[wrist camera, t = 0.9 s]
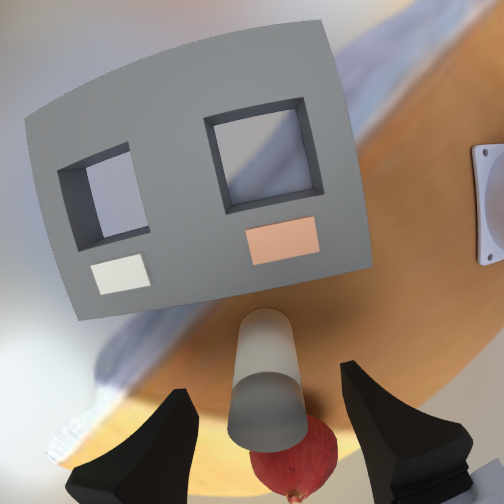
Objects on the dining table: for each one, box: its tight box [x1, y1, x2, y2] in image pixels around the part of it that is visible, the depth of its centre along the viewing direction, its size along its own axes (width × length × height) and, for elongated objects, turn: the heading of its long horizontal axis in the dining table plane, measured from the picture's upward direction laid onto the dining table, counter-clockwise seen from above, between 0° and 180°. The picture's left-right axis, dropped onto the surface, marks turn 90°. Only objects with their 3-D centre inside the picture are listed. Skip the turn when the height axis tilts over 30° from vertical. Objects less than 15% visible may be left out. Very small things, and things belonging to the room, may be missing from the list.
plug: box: [227, 308, 308, 453], centre depth 14 cm, size 3×3×8 cm
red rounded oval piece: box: [249, 414, 338, 504], centre depth 17 cm, size 6×6×8 cm
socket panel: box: [25, 20, 373, 321], centre depth 14 cm, size 16×12×3 cm
